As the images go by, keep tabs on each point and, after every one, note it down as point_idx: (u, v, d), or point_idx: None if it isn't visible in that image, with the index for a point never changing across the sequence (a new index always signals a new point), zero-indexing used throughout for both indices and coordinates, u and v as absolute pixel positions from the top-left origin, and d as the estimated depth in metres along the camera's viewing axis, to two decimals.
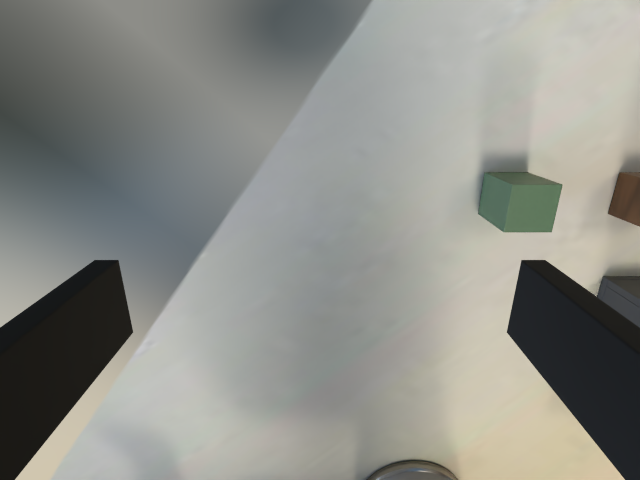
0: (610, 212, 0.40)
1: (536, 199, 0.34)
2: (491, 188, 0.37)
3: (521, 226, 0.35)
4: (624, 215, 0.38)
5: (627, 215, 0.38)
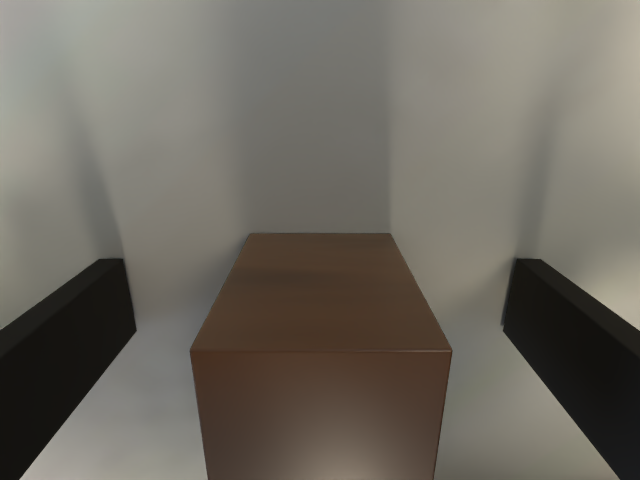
0: None
1: None
2: None
3: None
4: None
5: None
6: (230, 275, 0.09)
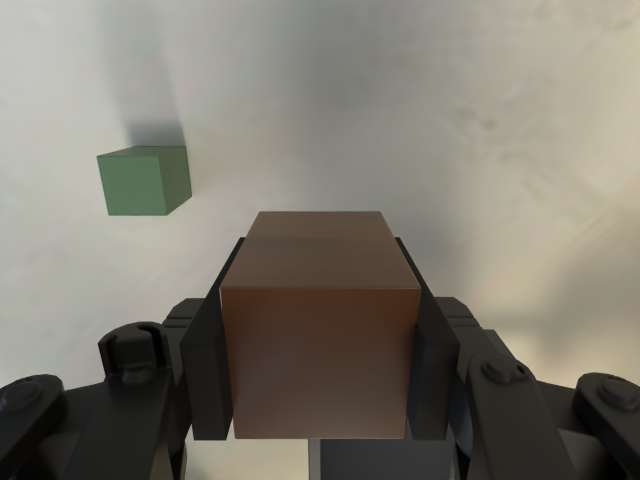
0: None
1: (133, 175, 0.28)
2: None
3: (127, 208, 0.29)
4: None
5: None
6: (245, 240, 0.11)
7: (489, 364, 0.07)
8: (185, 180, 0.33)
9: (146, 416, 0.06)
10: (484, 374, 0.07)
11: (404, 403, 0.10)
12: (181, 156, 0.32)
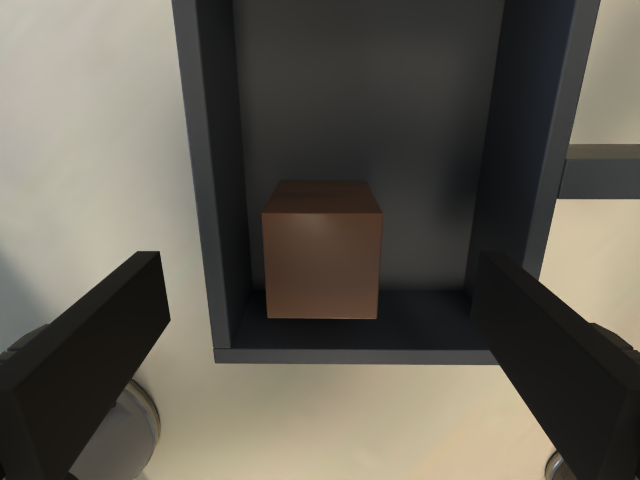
0: None
1: None
2: None
3: None
4: None
5: None
6: (273, 194, 0.17)
7: None
8: None
9: None
10: None
11: (375, 293, 0.15)
12: None
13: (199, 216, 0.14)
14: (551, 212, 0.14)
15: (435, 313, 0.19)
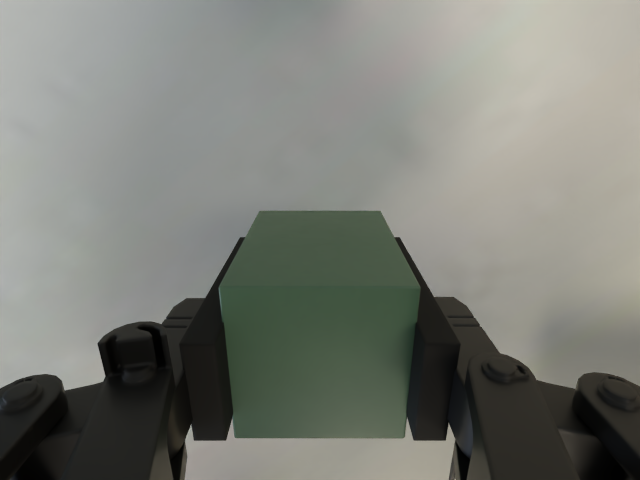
0: None
1: (328, 339, 0.09)
2: None
3: (294, 422, 0.10)
4: None
5: None
6: None
7: (489, 363, 0.07)
8: None
9: (146, 416, 0.06)
10: (484, 374, 0.07)
11: None
12: None
13: None
14: None
15: None
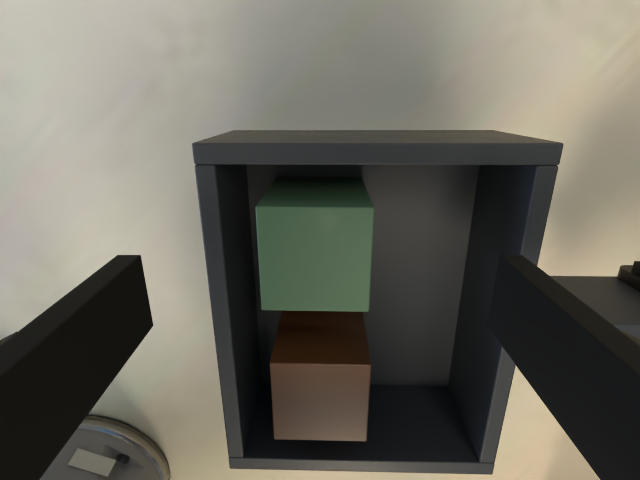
0: None
1: (320, 241, 0.15)
2: None
3: (299, 298, 0.16)
4: None
5: None
6: (279, 326, 0.19)
7: None
8: None
9: None
10: None
11: (365, 422, 0.18)
12: None
13: (219, 360, 0.17)
14: None
15: (421, 415, 0.22)
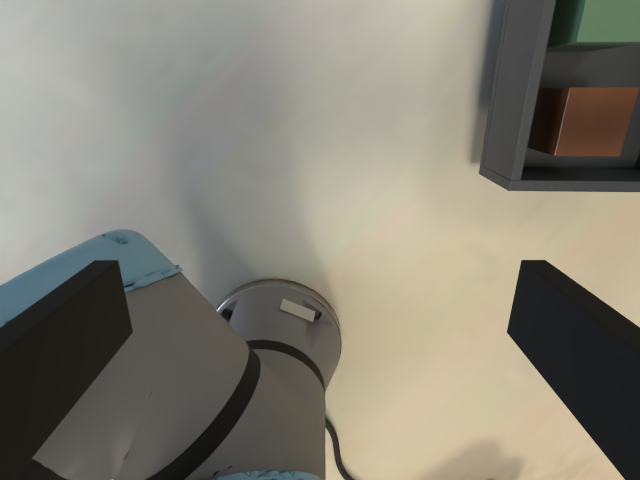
0: None
1: None
2: None
3: (605, 31, 0.24)
4: (530, 142, 0.30)
5: (532, 141, 0.30)
6: None
7: None
8: None
9: None
10: None
11: (623, 139, 0.26)
12: None
13: (528, 91, 0.26)
14: None
15: (628, 173, 0.30)
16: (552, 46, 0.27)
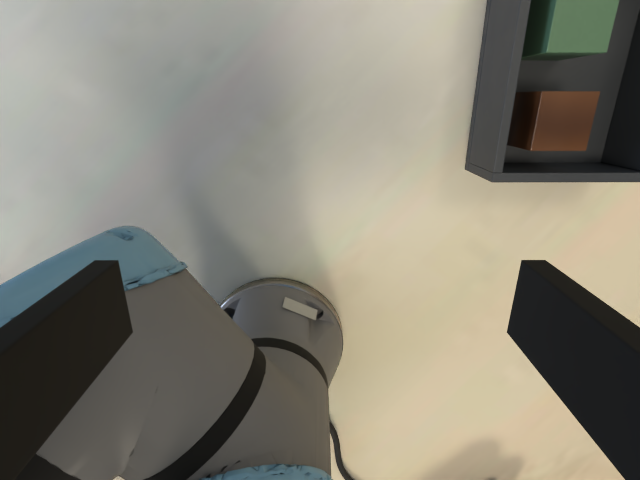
0: None
1: (590, 4, 0.27)
2: None
3: (569, 43, 0.28)
4: (509, 139, 0.34)
5: (511, 139, 0.33)
6: None
7: None
8: None
9: None
10: None
11: (588, 135, 0.30)
12: None
13: (506, 95, 0.29)
14: None
15: (594, 166, 0.34)
16: (526, 56, 0.31)
